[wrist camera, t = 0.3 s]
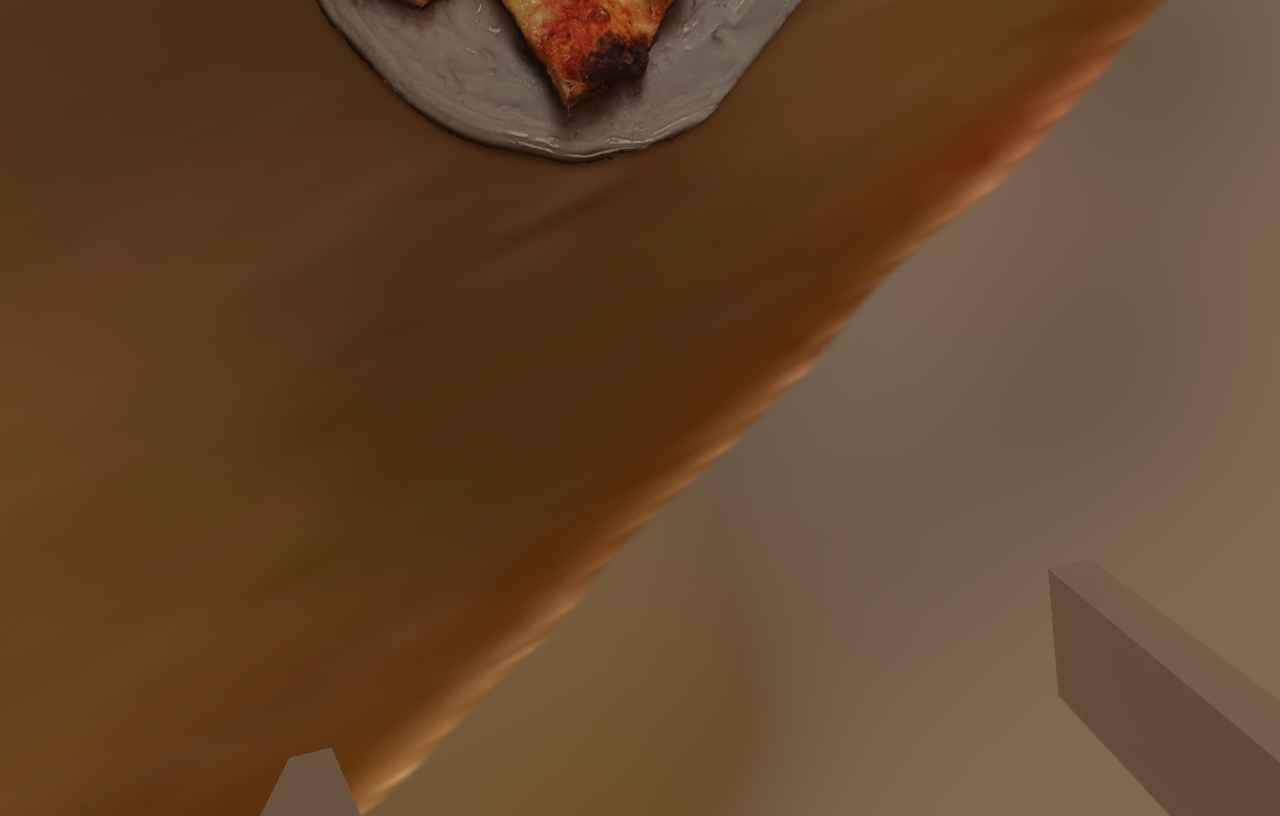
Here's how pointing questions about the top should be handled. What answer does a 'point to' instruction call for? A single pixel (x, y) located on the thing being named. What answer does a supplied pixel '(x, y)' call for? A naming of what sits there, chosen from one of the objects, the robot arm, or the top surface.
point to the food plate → (560, 65)
